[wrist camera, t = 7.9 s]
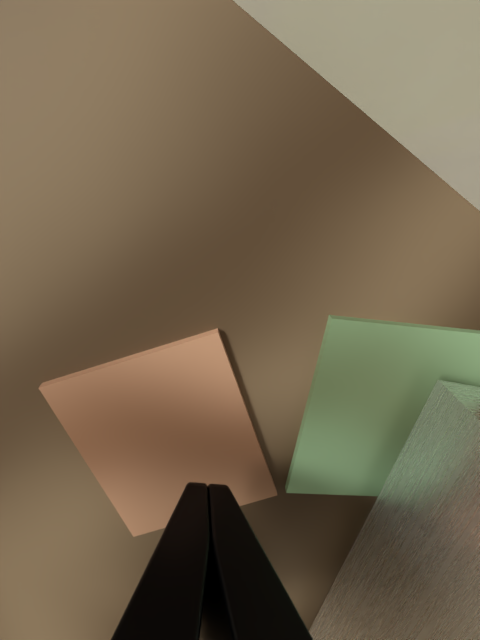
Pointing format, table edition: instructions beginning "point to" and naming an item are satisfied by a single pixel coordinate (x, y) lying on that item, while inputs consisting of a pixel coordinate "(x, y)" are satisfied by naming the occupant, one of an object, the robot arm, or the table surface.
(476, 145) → the table surface
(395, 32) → the table surface
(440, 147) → the table surface
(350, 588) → the bar with metal cap
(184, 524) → the robot arm
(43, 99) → the brown cutting board
